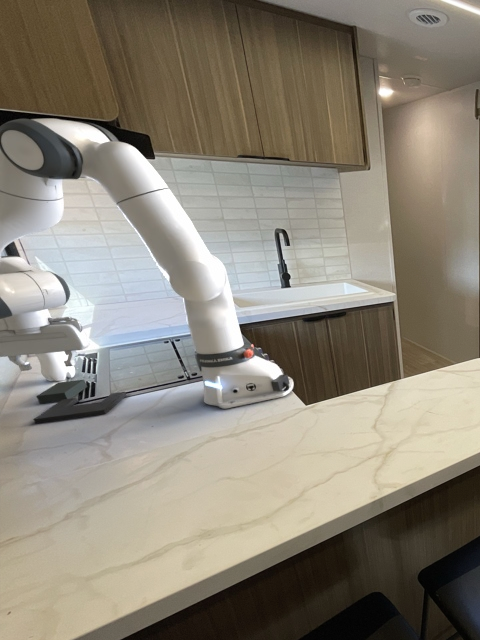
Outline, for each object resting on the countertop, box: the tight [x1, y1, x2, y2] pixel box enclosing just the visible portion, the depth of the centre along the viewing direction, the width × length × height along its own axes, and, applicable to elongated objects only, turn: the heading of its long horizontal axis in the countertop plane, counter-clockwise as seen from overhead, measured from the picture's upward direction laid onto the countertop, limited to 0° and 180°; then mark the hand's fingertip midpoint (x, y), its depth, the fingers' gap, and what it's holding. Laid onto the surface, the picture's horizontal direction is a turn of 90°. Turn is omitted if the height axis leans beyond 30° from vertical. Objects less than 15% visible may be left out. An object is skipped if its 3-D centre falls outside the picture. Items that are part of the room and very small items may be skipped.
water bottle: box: [34, 352, 76, 382], centre depth 122 cm, size 7×7×25 cm
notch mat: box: [33, 391, 127, 424], centre depth 107 cm, size 14×12×1 cm
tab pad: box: [36, 379, 88, 405], centre depth 115 cm, size 6×10×2 cm, turn 20°
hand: (49, 367), depth 112 cm, fingers open, 8 cm apart
